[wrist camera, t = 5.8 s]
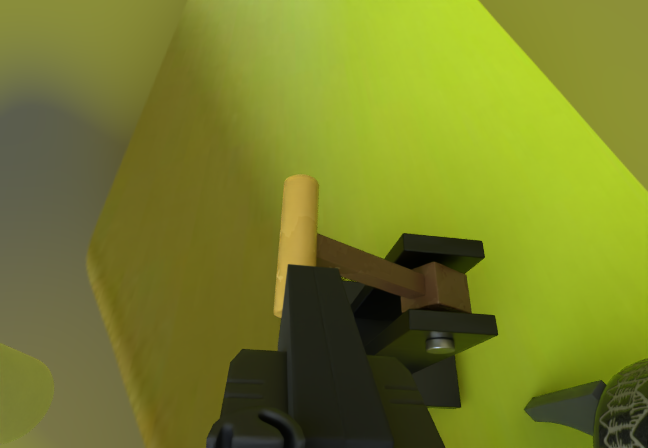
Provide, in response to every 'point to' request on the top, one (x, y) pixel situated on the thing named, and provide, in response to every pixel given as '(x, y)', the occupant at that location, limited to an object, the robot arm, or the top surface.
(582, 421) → the planter
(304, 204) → the lever
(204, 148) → the top surface
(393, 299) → the bracket
